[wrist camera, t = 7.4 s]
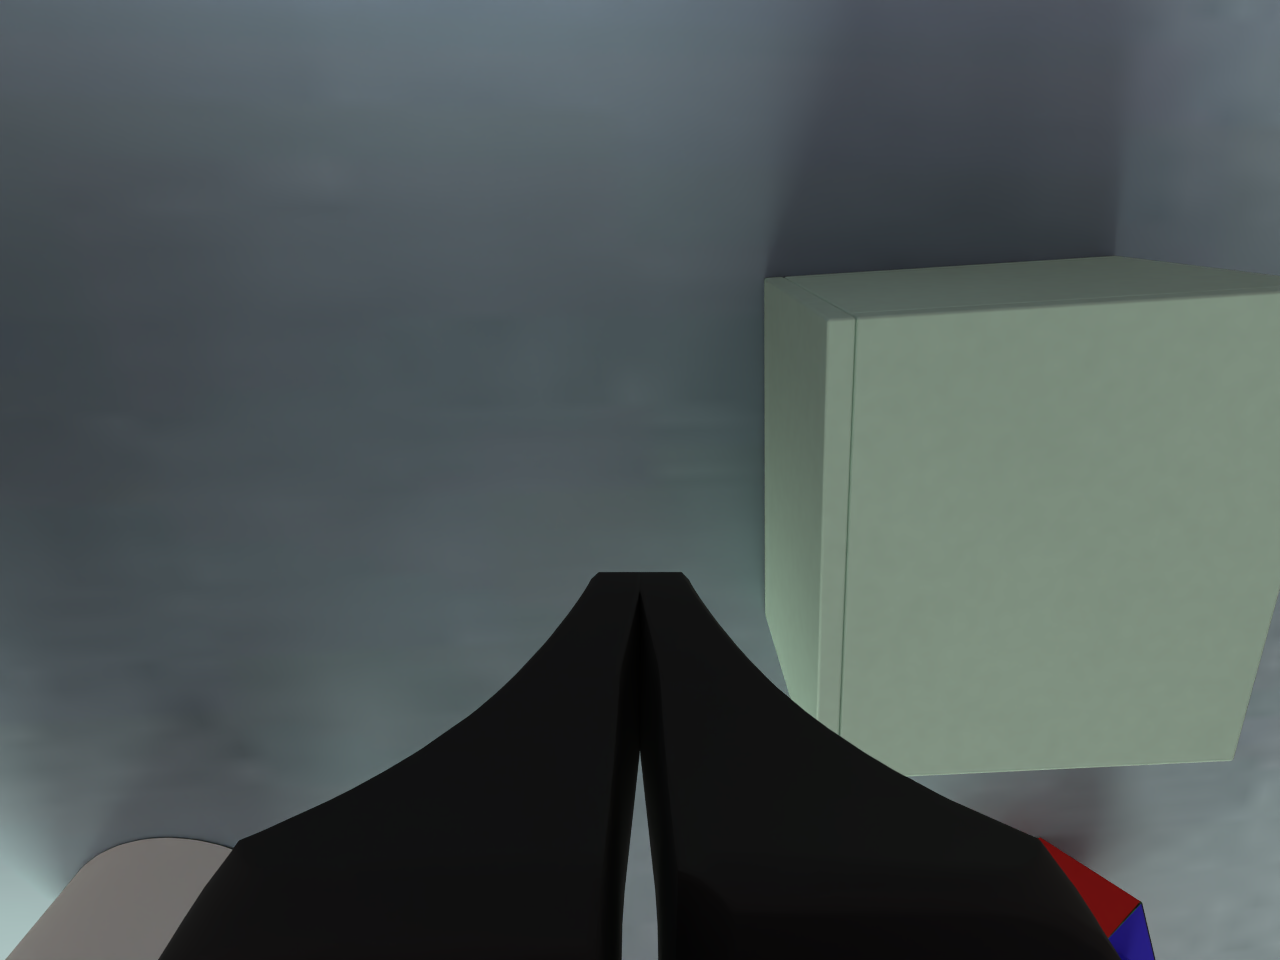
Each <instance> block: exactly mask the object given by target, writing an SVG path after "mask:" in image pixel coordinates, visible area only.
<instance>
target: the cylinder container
mask: <svg viewBox="0 0 1280 960" xmlns="http://www.w3.org/2000/svg"><path fill="white" fill-rule="evenodd" d="M231 851H232V849H229V848H227V847H224V846H220V845H216V844H212V843H208V842H203V841H198V840H191V839H180V838H155V839H144V840H138V841H134V842H129V843H125V844H122V845H119V846H116V847H113V848H111V849H109V850H107V851H105V852H103V853H101V854H99V855H97V856H96V857H94V858H93V859H92V860H90V861H89V862H88V863H87V864H85V865H84V866H83V867H82V868H81V869H80V871H79V872H78V873H77V874H76V875H75V877H74V878H73V879H72V880H71V881H70V883H69V884H68V885H67V886H66V887H65V889H64V890H63V891H62V892H61V893H60V895H59V896H58V897H57V898H56V899H55V901H54V902H53V903H52V904H51V905H50V907H49V908H48V909H47V910H46V911H45V913H44V914H43V915H42V916H41V917H40V919H39V920H38V921H37V922H36V923H35V925H34V926H33V927H32V928H31V929H30V931H29V932H28V933H27V934H26V935H25V937H24V938H23V939H22V940H21V941H20V943H19V944H18V945H17V946H16V947H15V949H14V950H13V951H12V952H11V953H10V955H9V956H8V957H7V958H6V960H158V959H159V957H160V956H161V954H162V953H163V951H164V949H165V948H166V946H167V945H168V943H169V941H170V940H171V938H172V937H173V935H174V933H175V932H176V930H177V929H178V927H179V925H180V924H181V922H182V921H183V919H184V917H185V916H186V914H187V913H188V911H189V910H190V908H191V907H192V905H193V904H194V902H195V901H196V899H197V898H198V896H199V895H200V893H201V892H202V890H203V888H204V887H205V886H206V884H207V883H208V882H209V880H210V879H211V878H212V876H213V875H214V874H215V872H216V871H217V870H218V868H219V867H220V866H221V865H222V863H223V862H224V861H225V859H226V858H227V857H228V855H229V854H230V852H231Z"/></svg>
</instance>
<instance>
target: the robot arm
mask: <svg viewBox="0 0 1280 960" xmlns="http://www.w3.org/2000/svg"><path fill="white" fill-rule="evenodd" d="M639 754H641V764H642V773H643V782H644V792H645V801H646V810H647V819H648V828H649V837H650V846H651V855H652V864H653V874H654V883H655V893H656V907H657V922H658V960H1121V958H1120V956H1119V955H1118V953H1117V952H1116V950H1115V949H1114V947H1113V945H1112V944H1111V942H1110V941H1109V939H1108V937H1107V936H1106V934H1105V933H1104V931H1103V929H1102V928H1101V926H1100V925H1099V923H1098V921H1097V919H1096V918H1095V916H1094V915H1093V913H1092V912H1091V910H1090V909H1089V907H1088V906H1087V904H1086V902H1085V901H1084V899H1083V898H1082V896H1081V895H1080V893H1079V892H1078V890H1077V889H1076V887H1075V886H1074V885H1073V883H1072V882H1071V881H1070V879H1069V878H1068V877H1067V875H1066V874H1065V873H1064V871H1063V870H1062V869H1061V867H1060V866H1059V865H1058V863H1057V862H1056V861H1055V859H1054V858H1053V857H1052V855H1051V854H1050V853H1049V851H1048V850H1047V848H1046V847H1045V846H1044V844H1043V843H1042V842H1041V840H1039V839H1037V838H1035V837H1033V836H1030V835H1028V834H1026V833H1024V832H1021V831H1019V830H1017V829H1015V828H1012V827H1010V826H1008V825H1006V824H1003V823H1001V822H999V821H997V820H994V819H992V818H990V817H988V816H985V815H983V814H981V813H979V812H976V811H974V810H972V809H970V808H967V807H965V806H963V805H961V804H958V803H956V802H954V801H952V800H949V799H947V798H945V797H943V796H941V795H939V794H938V793H936V792H934V791H932V790H930V789H928V788H926V787H925V786H923V785H921V784H919V783H917V782H915V781H913V780H912V779H910V778H908V777H906V776H904V775H902V774H900V773H899V772H897V771H895V770H893V769H891V768H890V767H888V766H886V765H885V764H883V763H881V762H880V761H878V760H876V759H875V758H873V757H871V756H870V755H868V754H866V753H865V752H863V751H862V750H860V749H859V748H857V747H856V746H854V745H853V744H851V743H850V742H848V741H847V740H845V739H844V738H842V737H841V736H839V735H838V734H836V733H835V732H833V731H832V730H830V729H829V728H827V727H826V726H825V725H823V724H822V723H821V722H819V721H818V720H817V719H815V718H814V717H812V716H811V715H810V714H809V713H807V712H806V711H805V710H804V709H802V708H801V707H800V706H799V705H798V704H796V703H795V702H794V701H793V700H791V699H790V698H789V697H788V696H787V695H785V694H784V693H783V692H782V691H781V690H779V689H778V688H777V687H776V686H775V685H774V684H773V683H772V682H771V681H770V680H769V679H768V678H767V677H766V676H765V675H764V674H763V673H762V672H761V671H760V670H759V669H758V668H757V667H756V666H755V665H754V664H753V663H752V662H751V661H750V660H749V659H748V658H747V657H746V655H745V654H744V653H743V652H742V651H741V650H740V649H739V648H738V647H737V645H736V644H735V643H734V642H733V641H732V639H731V638H730V637H729V636H728V634H727V633H726V632H725V631H724V630H723V628H722V627H721V626H720V625H719V624H718V622H717V621H716V620H715V618H714V617H713V616H712V614H711V613H710V612H709V610H708V609H707V607H706V606H705V605H704V603H703V602H702V600H701V599H700V597H699V596H698V594H697V593H696V591H695V590H694V588H693V586H692V585H691V583H690V581H689V579H688V578H687V577H686V576H685V575H684V574H683V573H682V572H599V573H597V574H596V575H595V576H594V577H593V578H592V579H591V581H590V582H589V584H588V586H587V587H586V589H585V591H584V592H583V594H582V595H581V597H580V598H579V600H578V601H577V603H576V604H575V605H574V607H573V608H572V610H571V611H570V612H569V614H568V615H567V616H566V618H565V619H564V620H563V621H562V623H561V624H560V625H559V626H558V628H557V629H556V630H555V631H554V633H553V634H552V635H551V637H550V638H549V639H548V640H547V641H546V643H545V644H544V645H543V646H542V647H541V648H540V649H539V650H538V651H537V652H536V653H535V655H534V656H533V657H532V658H531V659H530V660H529V661H528V662H527V663H526V664H525V665H524V666H523V667H522V668H521V670H520V671H519V672H518V673H517V674H516V675H515V676H514V677H513V678H512V679H511V680H510V681H509V682H508V683H506V684H505V685H504V686H503V687H502V688H501V689H500V690H499V691H498V692H497V693H496V694H495V695H494V696H492V697H491V698H490V699H489V700H488V701H487V702H485V703H484V704H483V705H482V706H481V707H480V708H478V709H477V710H476V711H475V712H473V713H472V714H471V715H469V716H468V717H467V718H465V719H464V720H462V721H461V722H459V723H458V724H457V725H455V726H454V727H452V728H451V729H449V730H448V731H447V732H445V733H444V734H442V735H441V736H439V737H438V738H437V739H435V740H434V741H432V742H431V743H429V744H428V745H427V746H425V747H424V748H422V749H421V750H419V751H418V752H416V753H414V754H413V755H411V756H409V757H408V758H406V759H404V760H403V761H401V762H399V763H398V764H396V765H394V766H393V767H391V768H389V769H388V770H386V771H384V772H382V773H381V774H379V775H377V776H375V777H373V778H371V779H370V780H368V781H366V782H364V783H362V784H360V785H359V786H357V787H355V788H353V789H351V790H349V791H347V792H345V793H343V794H341V795H339V796H337V797H335V798H333V799H331V800H329V801H327V802H325V803H323V804H321V805H318V806H316V807H314V808H312V809H310V810H307V811H305V812H303V813H301V814H299V815H296V816H294V817H292V818H290V819H288V820H285V821H283V822H281V823H279V824H277V825H274V826H272V827H270V828H268V829H266V830H263V831H261V832H259V833H256V834H254V835H252V836H249V837H247V838H244V839H242V840H239V841H238V843H237V844H236V846H235V847H234V848H233V850H232V851H231V852H230V854H229V855H228V857H227V858H226V859H225V861H224V862H223V863H222V865H221V866H220V867H219V868H218V870H217V871H216V872H215V874H214V875H213V876H212V878H211V879H210V880H209V882H208V883H207V884H206V886H205V887H204V888H203V890H202V892H201V893H200V895H199V896H198V898H197V899H196V901H195V902H194V904H193V905H192V907H191V908H190V910H189V911H188V913H187V914H186V916H185V917H184V919H183V921H182V922H181V924H180V925H179V927H178V929H177V930H176V932H175V933H174V935H173V937H172V938H171V940H170V941H169V943H168V945H167V946H166V948H165V949H164V951H163V953H162V954H161V956H160V957H159V959H158V960H622V921H623V906H624V891H625V882H626V873H627V864H628V855H629V845H630V836H631V827H632V818H633V809H634V800H635V791H636V782H637V772H638V763H639Z"/></svg>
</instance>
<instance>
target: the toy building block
mask: <svg viewBox="0 0 1280 960" xmlns="http://www.w3.org/2000/svg"><path fill="white" fill-rule="evenodd" d="M1038 839H1039V840H1041V842H1042V843H1043V844H1044V846H1045V847H1046V848H1047V850H1048V851H1049V853H1050V854H1051V855H1052V857H1053V858H1054V859H1055V861H1056V862H1057V863H1058V865H1059V866H1060V867H1061V869H1062V870H1063V871H1064V873H1065V874H1066V875H1067V877H1068V878H1069V879H1070V881H1071V882H1072V883H1073V885H1074V886H1075V887H1076V889H1077V890H1078V892H1079V893H1080V895H1081V896H1082V898H1083V899H1084V901H1085V902H1086V904H1087V906H1088V907H1089V909H1090V910H1091V912H1092V913H1093V915H1094V916H1095V918H1096V919H1097V921H1098V923H1099V925H1100V926H1101V928H1102V929H1103V931H1104V933H1105V934H1106V936H1107V937H1108V939H1109V941H1110V942H1111V944H1112V945H1113V947H1114V949H1115V950H1116V952H1117V953H1118V955H1119V956H1120V958H1121V960H1155V956H1154V952H1153V948H1152V943H1151V939H1150V935H1149V931H1148V926H1147V922H1146V918H1145V913H1144V909H1143V905H1142V902H1141V901H1139V900H1137V899H1136V898H1134V897H1133V896H1131V895H1130V894H1128V893H1126V892H1125V891H1123V890H1122V889H1120V888H1119V887H1117V886H1115V885H1114V884H1112V883H1111V882H1109V881H1108V880H1106V879H1105V878H1103V877H1101V876H1100V875H1098V874H1097V873H1095V872H1094V871H1092V870H1090V869H1089V868H1087V867H1086V866H1084V865H1083V864H1081V863H1079V862H1078V861H1076V860H1075V859H1073V858H1072V857H1070V856H1068V855H1067V854H1065V853H1064V852H1062V851H1061V850H1059V849H1057V848H1056V847H1054V846H1053V845H1051V844H1050V843H1048V842H1047V841H1045V840H1043V839H1042V838H1040V837H1039V838H1038Z"/></svg>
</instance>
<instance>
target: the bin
mask: <svg viewBox="0 0 1280 960" xmlns="http://www.w3.org/2000/svg"><path fill="white" fill-rule="evenodd" d="M764 373H765V615H766V618H767V622H768V625H769V628H770V632H771V635H772V638H773V642H774V645H775V648H776V652H777V655H778V658H779V662H780V665H781V668H782V672H783V675H784V678H785V682H786V685H787V688H788V692H789V695H790V698H791V700H793V701H794V702H795V703H796V704H798V705H799V706H800V707H801V708H802V709H804V710H805V711H806V712H807V713H809V714H810V715H811V716H812V717H814V718H815V719H817V720H818V721H819V722H821V723H822V724H823V725H825V726H826V727H827V728H829V729H830V730H832V731H833V732H835V733H836V734H838V735H839V736H841V737H842V738H844V739H845V740H847V741H848V742H850V743H851V744H853V745H854V746H856V747H857V748H859V749H860V750H862V751H863V752H865V753H866V754H868V755H870V756H871V757H873V758H875V759H876V760H878V761H880V762H881V763H883V764H885V765H886V766H888V767H890V768H891V769H893V770H895V771H897V772H899V773H900V774H902V775H904V776H925V775H945V774H966V773H987V772H1007V771H1028V770H1049V769H1069V768H1090V767H1111V766H1131V765H1152V764H1173V763H1193V762H1214V761H1231V760H1233V758H1234V755H1235V751H1236V747H1237V744H1238V740H1239V736H1240V733H1241V729H1242V725H1243V722H1244V718H1245V714H1246V711H1247V707H1248V703H1249V700H1250V696H1251V692H1252V689H1253V685H1254V681H1255V678H1256V674H1257V670H1258V667H1259V663H1260V659H1261V656H1262V652H1263V648H1264V645H1265V641H1266V637H1267V634H1268V630H1269V626H1270V623H1271V619H1272V615H1273V612H1274V608H1275V604H1276V601H1277V597H1278V593H1279V590H1280V276H1276V275H1268V274H1259V273H1251V272H1243V271H1235V270H1227V269H1219V268H1211V267H1202V266H1194V265H1186V264H1178V263H1170V262H1162V261H1154V260H1145V259H1137V258H1129V257H1121V256H1105V257H1089V258H1073V259H1057V260H1041V261H1025V262H1010V263H994V264H978V265H962V266H946V267H930V268H915V269H899V270H883V271H867V272H851V273H835V274H820V275H804V276H788V277H784V278H783V277H772V278H765V280H764Z"/></svg>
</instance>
